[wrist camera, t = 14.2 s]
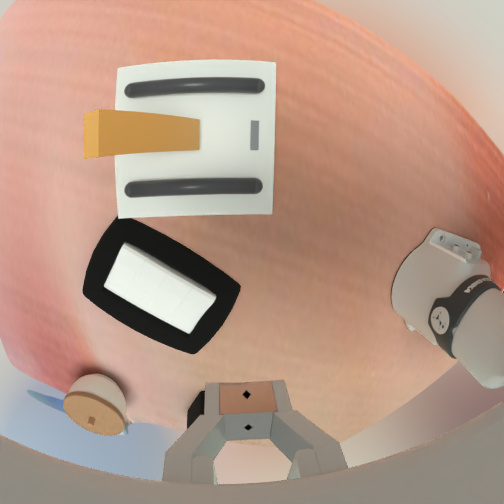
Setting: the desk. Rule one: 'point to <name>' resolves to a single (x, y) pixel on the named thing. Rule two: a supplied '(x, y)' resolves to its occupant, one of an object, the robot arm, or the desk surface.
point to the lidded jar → (96, 404)
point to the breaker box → (201, 139)
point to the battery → (196, 409)
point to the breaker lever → (137, 133)
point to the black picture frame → (158, 286)
